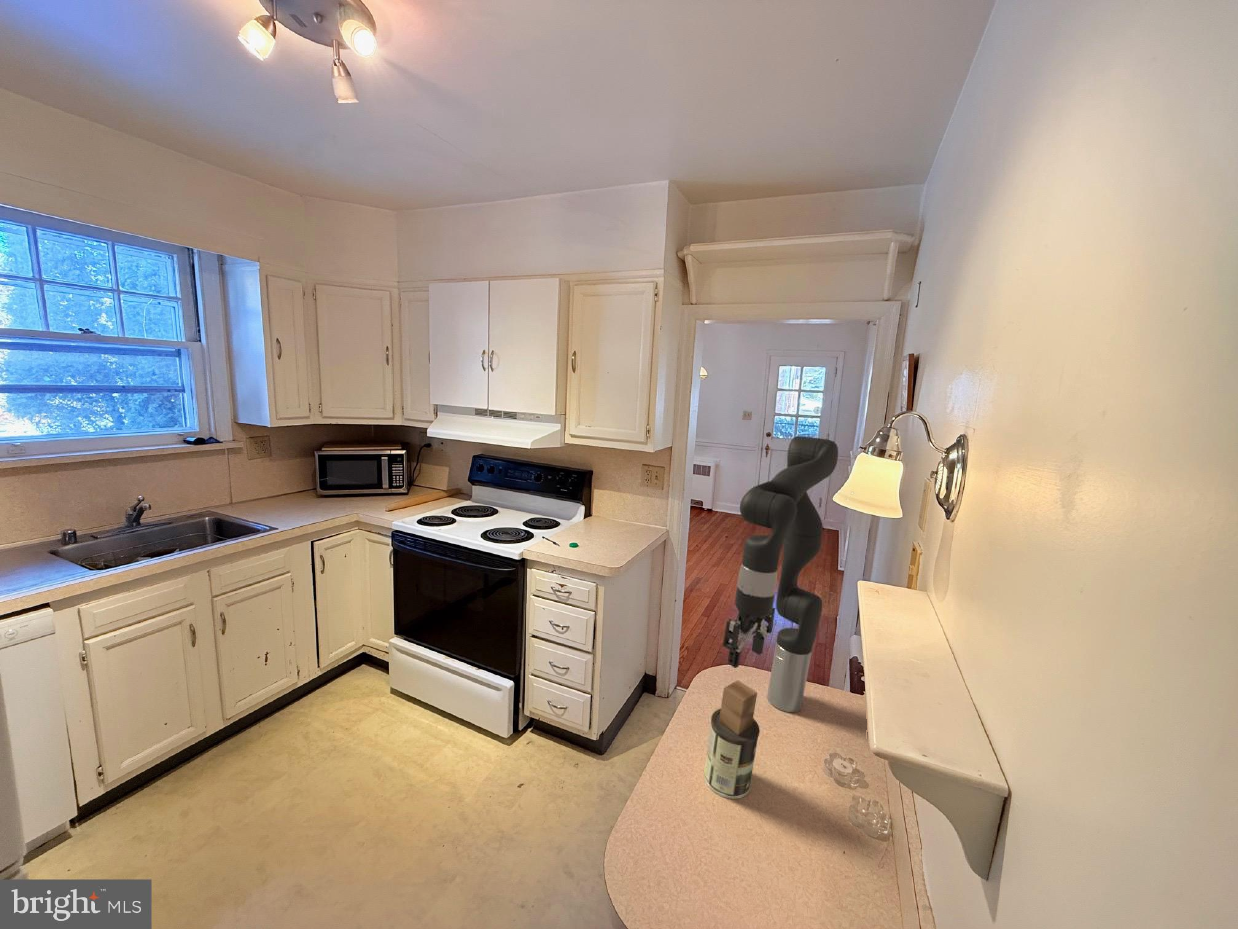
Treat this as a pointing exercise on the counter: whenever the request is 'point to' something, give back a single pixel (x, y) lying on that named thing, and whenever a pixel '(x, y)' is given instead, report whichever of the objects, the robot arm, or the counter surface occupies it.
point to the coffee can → (730, 758)
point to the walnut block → (738, 707)
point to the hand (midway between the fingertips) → (745, 659)
